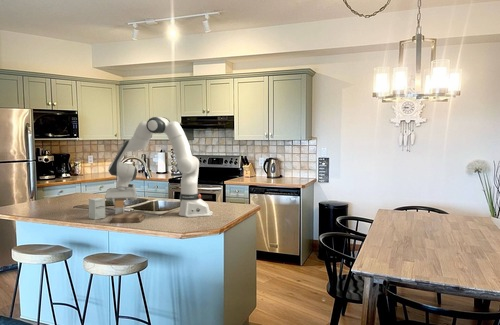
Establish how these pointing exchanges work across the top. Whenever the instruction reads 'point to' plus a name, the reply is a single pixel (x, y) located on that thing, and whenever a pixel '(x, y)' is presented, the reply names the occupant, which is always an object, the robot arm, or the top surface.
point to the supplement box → (96, 208)
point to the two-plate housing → (119, 206)
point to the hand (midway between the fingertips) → (119, 204)
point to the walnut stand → (128, 218)
